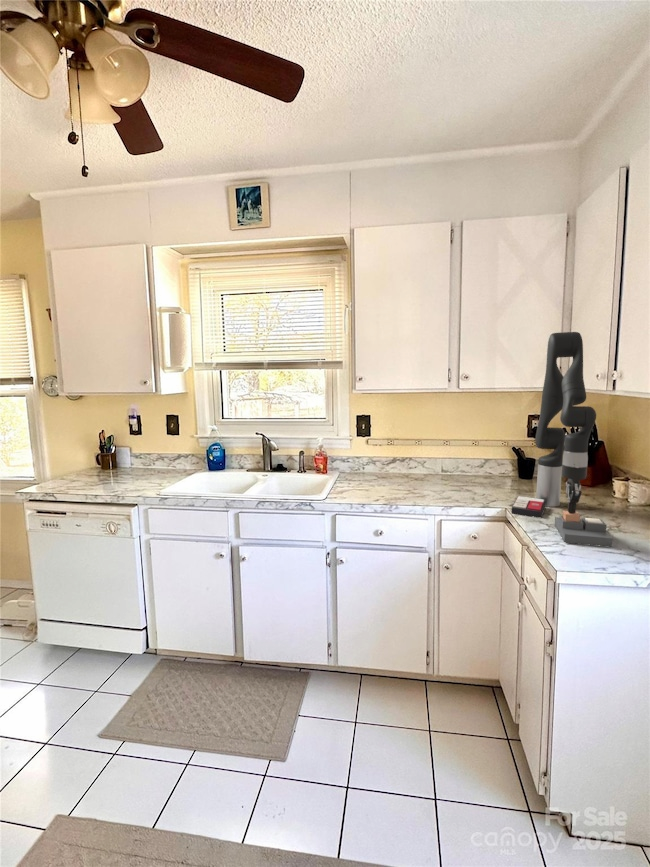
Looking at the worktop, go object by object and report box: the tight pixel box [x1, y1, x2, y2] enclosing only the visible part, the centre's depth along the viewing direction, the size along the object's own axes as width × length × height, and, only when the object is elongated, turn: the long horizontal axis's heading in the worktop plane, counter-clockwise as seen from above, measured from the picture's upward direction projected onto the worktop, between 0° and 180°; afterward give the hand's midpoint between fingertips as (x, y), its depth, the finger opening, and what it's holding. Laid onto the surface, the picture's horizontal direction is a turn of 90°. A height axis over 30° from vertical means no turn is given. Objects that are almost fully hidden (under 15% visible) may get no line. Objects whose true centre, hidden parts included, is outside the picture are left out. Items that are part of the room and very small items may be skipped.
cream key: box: [584, 517, 603, 524], centre depth 154 cm, size 4×4×2 cm
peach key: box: [562, 510, 581, 522], centre depth 156 cm, size 4×4×2 cm
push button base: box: [553, 515, 614, 548], centre depth 155 cm, size 18×14×6 cm
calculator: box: [511, 495, 546, 518], centre depth 184 cm, size 11×4×15 cm
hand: (571, 512), depth 156 cm, fingers closed
